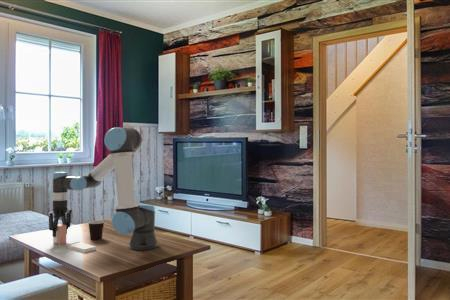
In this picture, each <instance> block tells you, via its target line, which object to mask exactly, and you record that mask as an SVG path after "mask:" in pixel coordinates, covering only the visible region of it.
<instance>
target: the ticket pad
mask: <svg viewBox="0 0 450 300" xmlns="http://www.w3.org/2000/svg"><path fill="white" fill-rule="evenodd" d="M67 249H68V250H69V249H70V250H72V251H77V252H80V253H84V254H85V253H88V252H92V251H96V249H97V246H96V245H92V244H87V243H84V242H80V241H76V242H73V243H68V244H67Z"/></svg>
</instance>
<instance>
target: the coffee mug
mask: <svg viewBox="0 0 450 300" xmlns="http://www.w3.org/2000/svg"><path fill="white" fill-rule="evenodd" d="M104 225H105V221H103V220H93V221H89V222H88V229H89V239H90V240H91V241H100V240H102V239H103V233H104Z"/></svg>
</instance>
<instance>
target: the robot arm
mask: <svg viewBox="0 0 450 300" xmlns="http://www.w3.org/2000/svg"><path fill="white" fill-rule="evenodd" d="M103 140H104V146H105V147H106V149H107V150H109V154H108V155H107V157H105V158H104V159H103V160H102V161H101V162H100V163H99V164H97V166H95V167H94V169H92V170H91V171H90V172H89V173H88V174H85V175H76V176H75V175H74V176H73V175H68V174H69V173H68V172H67V171H55V172H53V173H52V210H51V211H50V212H49V211H48V212H47V216H48V230H49V231H52V237H54V242H55V243H54V244H56V243H58V231H56V230H57V226H58V224H59V219H60V218H61V224H63V225H66V235H68V229H69V228H71V222H72V221H71V220H72V219H71V218H72V217H71V216H72V213H73V212H72V211H73V210H72V209H69V208H68V191H69V190H70V191H77V192H78V191H84V189H92V188H97V187H99V186H100V185H101V184H102V180H103V179H104V178H106V176H108V175H109V174H110V173H111V172H112V171H113V170H114V174H115V185H116V195H117V205H116V206H115V213H114V214H113V217H112V218H111V224H112V227H113V229H114V231H116V233H118V234H120V235H129V234H131V238H130V241H129V243H128V246H129V247H128V248H129V249H130V250H134V251H148V250H153V249H156V248H157V247H158V240H157V237H156V236H157V235H156V233H155V223H156V220H155V218H156V217H155V214H156V211H155V206H154V205H152V204H143V203H142V204H141V203H138V202H136V194H135V184H134V183H135V182H134V175H133V165H132V164H133V163H132V155H133V154H134V153H135V152H137V151H138V150H139V148H140V147H141V145H142V143H143V137H142V135H141V133H140V131H138V130H137V129H135V128H130V127H121V126H119V127H118V126H117V127H112V128H110V129H109V130H108V131H107V132H106V133H105V135H104V139H103Z"/></svg>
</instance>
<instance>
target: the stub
mask: <svg viewBox="0 0 450 300" xmlns="http://www.w3.org/2000/svg"><path fill="white" fill-rule="evenodd" d="M56 231H58V243H55V242H54V237H53V236H52V237H53V240H52V241H53V242H52V243H54V244H56V245H59V246H60V245H65V244H66V243H67V234H66V225H63V224H62V223H58V226H57V230H56Z"/></svg>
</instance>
